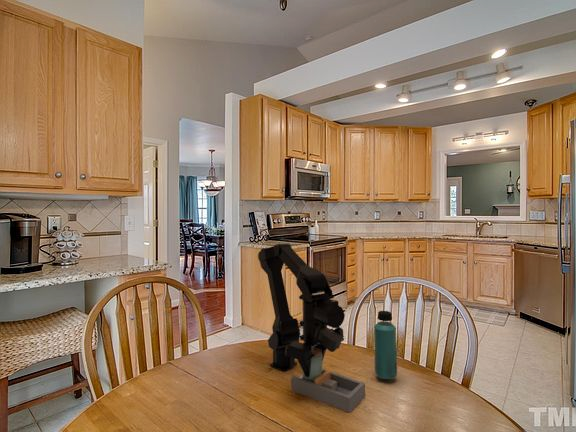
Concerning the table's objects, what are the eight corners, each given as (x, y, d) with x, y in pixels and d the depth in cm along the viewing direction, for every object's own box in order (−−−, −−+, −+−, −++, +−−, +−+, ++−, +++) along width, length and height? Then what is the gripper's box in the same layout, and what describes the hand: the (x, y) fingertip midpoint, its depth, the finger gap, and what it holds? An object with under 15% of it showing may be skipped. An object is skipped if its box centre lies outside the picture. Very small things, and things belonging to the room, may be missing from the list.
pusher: (314, 392, 89) (314, 379, 89) (327, 382, 94) (326, 370, 94) (328, 397, 86) (328, 384, 86) (340, 386, 91) (340, 374, 91)
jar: (298, 380, 92) (298, 351, 92) (309, 372, 97) (309, 345, 97) (315, 386, 89) (315, 356, 89) (326, 378, 93) (326, 350, 93)
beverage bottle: (398, 385, 94) (398, 315, 94) (374, 383, 95) (374, 314, 95) (395, 374, 100) (395, 309, 100) (373, 372, 101) (373, 308, 101)
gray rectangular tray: (291, 389, 92) (291, 377, 92) (309, 376, 99) (309, 365, 99) (349, 412, 81) (349, 398, 81) (365, 396, 88) (365, 382, 88)
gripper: (320, 333, 80) (320, 396, 80) (353, 314, 95) (353, 368, 95) (284, 324, 87) (284, 382, 87) (320, 308, 102) (320, 358, 102)
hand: (313, 372), depth 93 cm, fingers closed on jar, 5 cm apart
